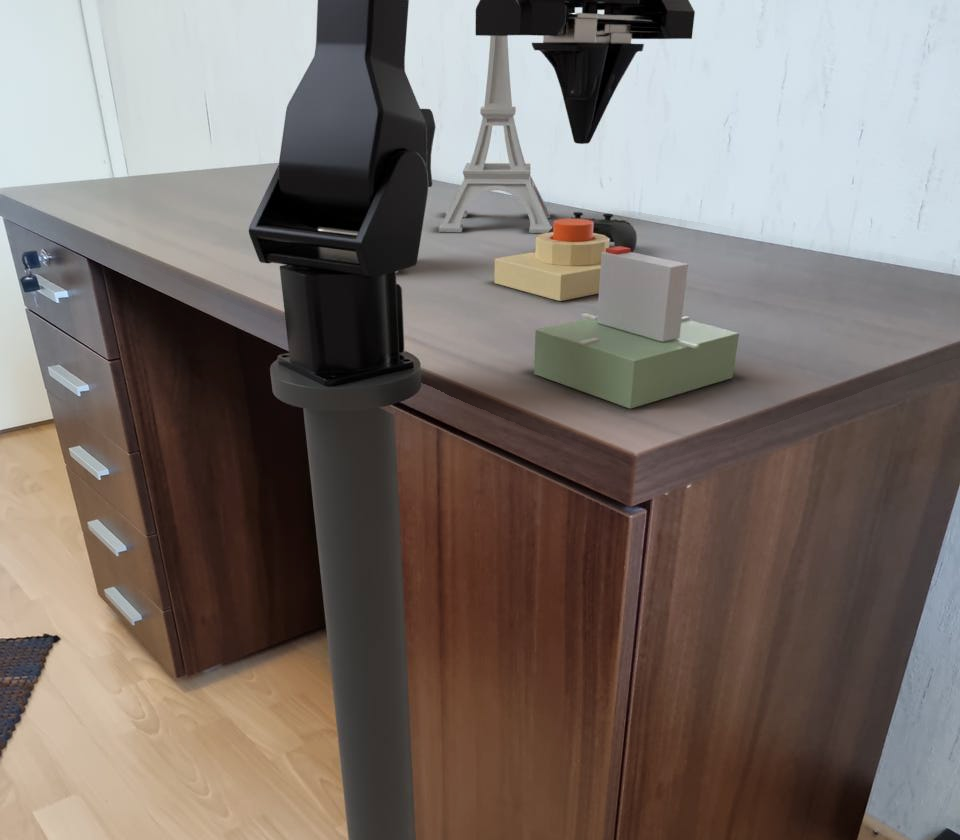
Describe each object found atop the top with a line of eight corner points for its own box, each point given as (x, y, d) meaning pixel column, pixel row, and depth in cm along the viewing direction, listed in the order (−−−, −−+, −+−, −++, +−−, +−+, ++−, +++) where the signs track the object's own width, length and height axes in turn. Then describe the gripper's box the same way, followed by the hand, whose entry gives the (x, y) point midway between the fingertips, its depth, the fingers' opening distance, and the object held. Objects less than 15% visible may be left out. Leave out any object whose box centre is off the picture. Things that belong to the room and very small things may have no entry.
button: (571, 247, 82) (572, 226, 81) (544, 241, 84) (545, 221, 83) (600, 243, 84) (602, 222, 83) (573, 237, 86) (574, 217, 85)
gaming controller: (541, 243, 97) (554, 194, 98) (549, 274, 102) (562, 227, 103) (631, 250, 94) (644, 199, 95) (635, 281, 99) (647, 232, 100)
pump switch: (560, 301, 80) (562, 252, 78) (494, 283, 86) (494, 237, 84) (646, 284, 86) (650, 237, 84) (579, 268, 92) (581, 224, 89)
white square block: (679, 338, 59) (689, 259, 57) (662, 342, 58) (671, 263, 56) (613, 319, 63) (619, 245, 61) (596, 322, 62) (601, 248, 60)
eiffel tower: (552, 233, 108) (565, -93, 91) (438, 231, 108) (432, -93, 92) (549, 214, 119) (561, -79, 103) (446, 213, 120) (442, -79, 103)
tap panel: (636, 412, 56) (641, 360, 55) (526, 372, 63) (528, 325, 61) (741, 380, 62) (748, 332, 60) (629, 346, 68) (633, 302, 67)
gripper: (606, -78, 78) (592, 132, 86) (429, -98, 68) (433, 141, 76) (710, -90, 71) (684, 141, 79) (529, -115, 61) (521, 152, 69)
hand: (581, 143), depth 76 cm, fingers closed
